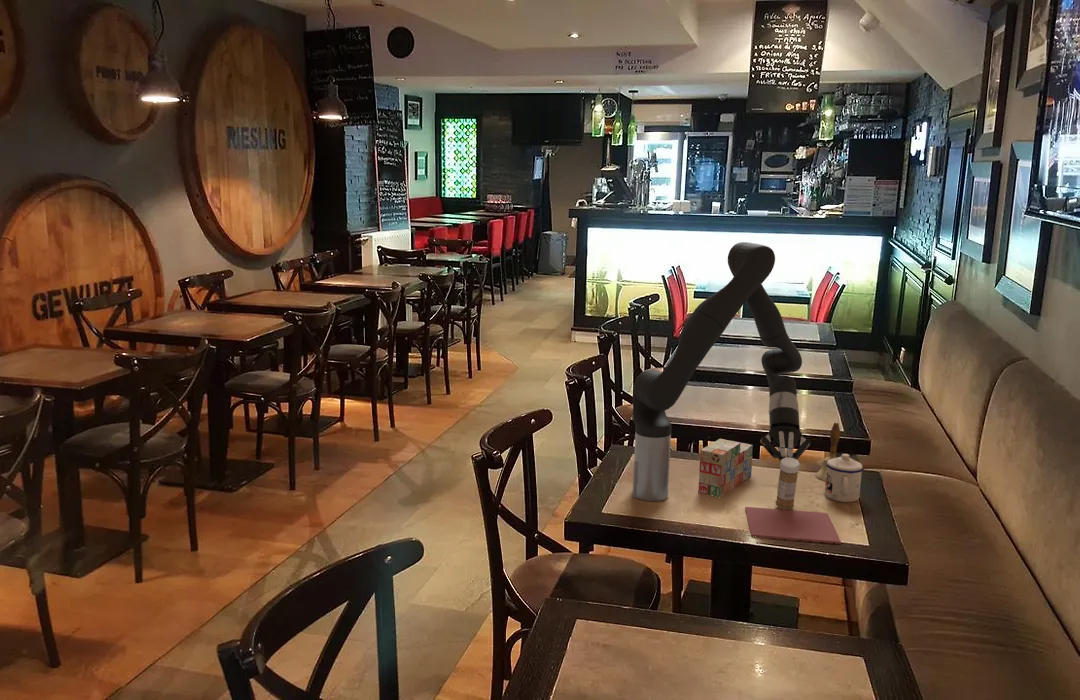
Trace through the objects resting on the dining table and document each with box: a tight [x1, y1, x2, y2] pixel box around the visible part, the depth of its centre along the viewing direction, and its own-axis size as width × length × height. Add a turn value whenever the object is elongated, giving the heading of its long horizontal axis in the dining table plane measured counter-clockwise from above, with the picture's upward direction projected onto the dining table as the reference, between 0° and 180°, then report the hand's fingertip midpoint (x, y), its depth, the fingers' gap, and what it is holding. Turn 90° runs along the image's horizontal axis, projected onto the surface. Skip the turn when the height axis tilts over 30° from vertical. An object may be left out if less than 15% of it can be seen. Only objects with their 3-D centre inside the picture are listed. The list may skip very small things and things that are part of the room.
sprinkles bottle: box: [775, 457, 800, 510], centre depth 202 cm, size 5×5×14 cm
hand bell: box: [815, 422, 841, 482], centre depth 226 cm, size 8×8×16 cm
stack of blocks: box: [697, 438, 754, 498], centre depth 220 cm, size 21×6×12 cm, turn 143°
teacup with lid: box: [824, 453, 864, 503], centre depth 211 cm, size 12×9×12 cm
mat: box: [744, 506, 842, 545], centre depth 194 cm, size 20×17×1 cm
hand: (786, 472), depth 204 cm, fingers closed
